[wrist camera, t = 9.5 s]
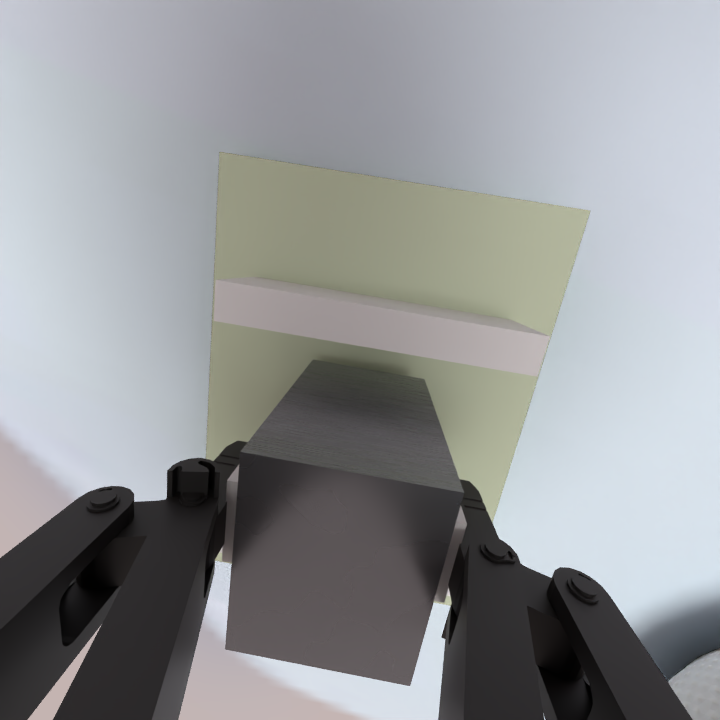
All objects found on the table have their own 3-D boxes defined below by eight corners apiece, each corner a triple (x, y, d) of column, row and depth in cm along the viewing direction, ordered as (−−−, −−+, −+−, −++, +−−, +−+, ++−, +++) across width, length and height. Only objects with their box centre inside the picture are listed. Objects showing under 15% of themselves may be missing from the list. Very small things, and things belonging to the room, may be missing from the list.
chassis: (234, 162, 16) (161, 112, 11) (572, 215, 16) (663, 190, 11) (213, 539, 22) (159, 623, 17) (460, 585, 22) (483, 687, 17)
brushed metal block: (312, 359, 15) (239, 451, 8) (424, 378, 15) (464, 492, 8) (297, 476, 17) (225, 649, 9) (398, 494, 17) (410, 686, 9)
